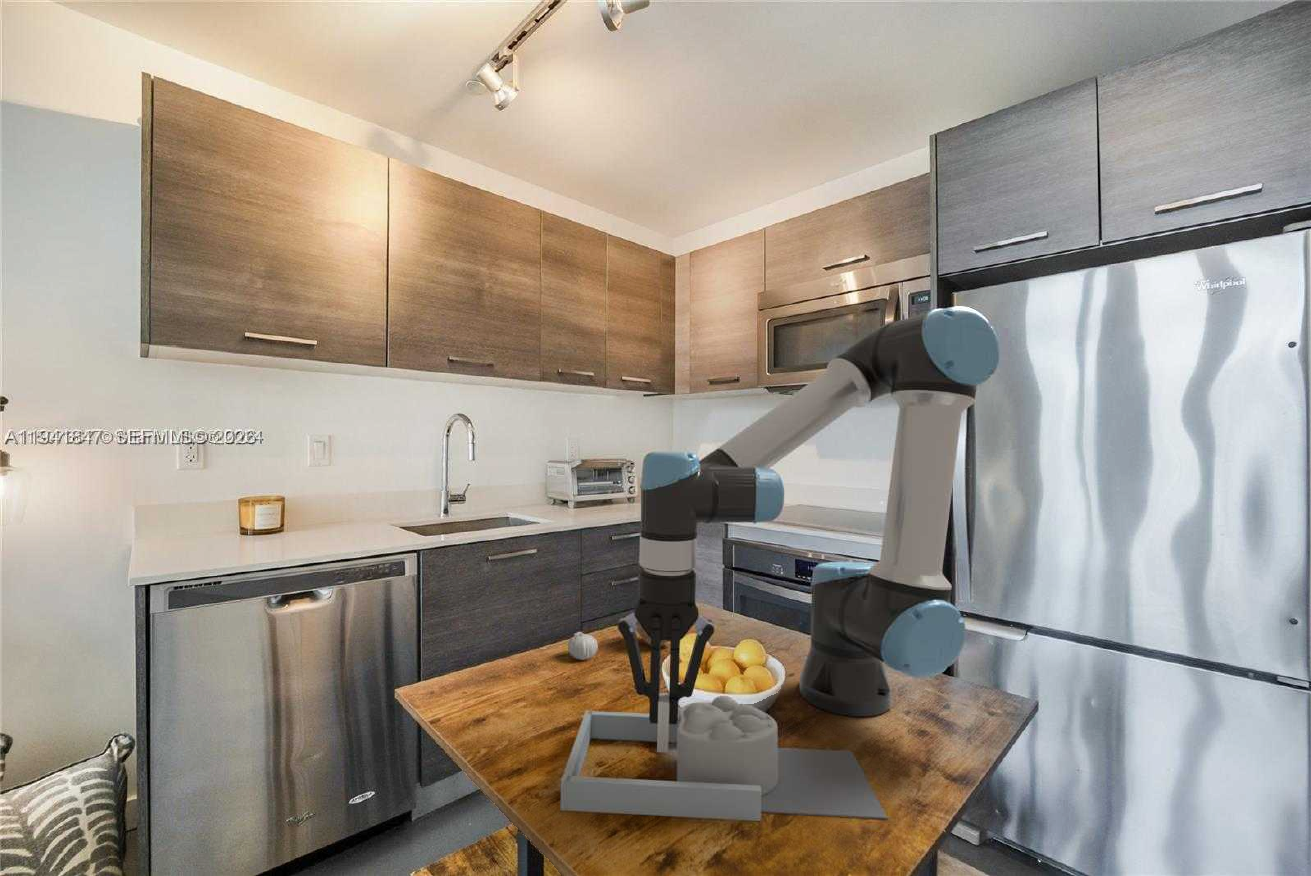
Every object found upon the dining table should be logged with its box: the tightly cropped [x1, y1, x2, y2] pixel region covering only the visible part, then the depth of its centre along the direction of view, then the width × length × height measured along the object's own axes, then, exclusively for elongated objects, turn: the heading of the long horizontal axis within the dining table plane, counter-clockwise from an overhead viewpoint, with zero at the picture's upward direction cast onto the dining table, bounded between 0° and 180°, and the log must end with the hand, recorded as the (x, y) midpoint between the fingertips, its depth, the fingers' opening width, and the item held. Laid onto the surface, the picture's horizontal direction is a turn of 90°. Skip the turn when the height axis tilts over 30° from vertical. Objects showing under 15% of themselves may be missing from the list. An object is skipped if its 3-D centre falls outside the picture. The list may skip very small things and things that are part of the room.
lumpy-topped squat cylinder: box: [676, 695, 779, 796], centre depth 74 cm, size 10×13×9 cm
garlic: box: [567, 631, 599, 661], centre depth 113 cm, size 6×5×5 cm
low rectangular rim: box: [560, 710, 762, 822], centre depth 75 cm, size 24×17×4 cm
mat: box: [761, 747, 888, 820], centre depth 74 cm, size 17×14×1 cm
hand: (662, 746), depth 75 cm, fingers closed
